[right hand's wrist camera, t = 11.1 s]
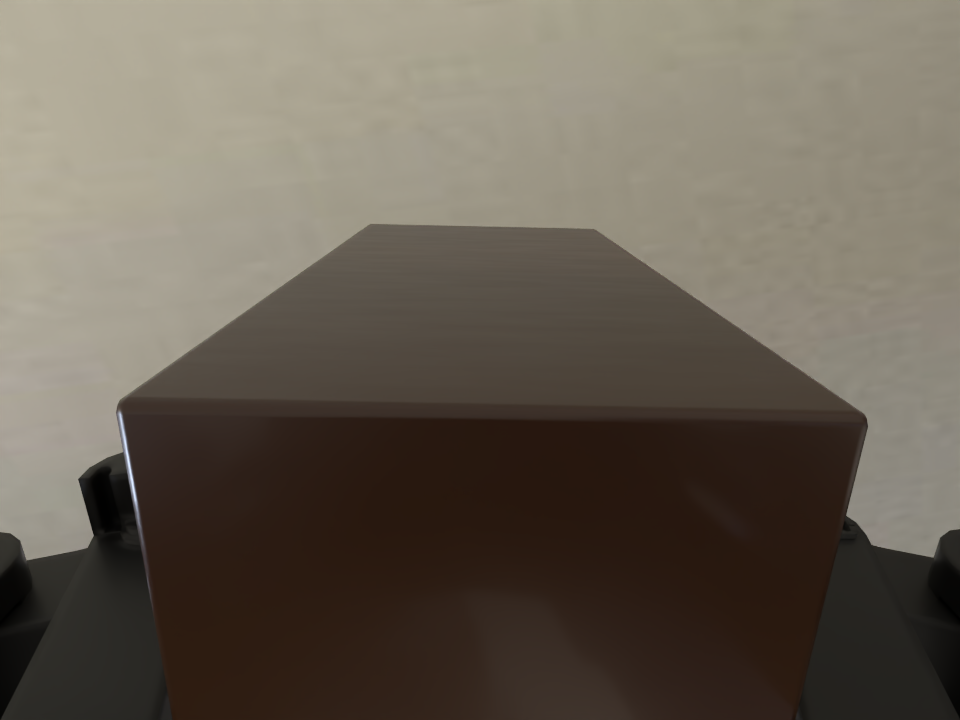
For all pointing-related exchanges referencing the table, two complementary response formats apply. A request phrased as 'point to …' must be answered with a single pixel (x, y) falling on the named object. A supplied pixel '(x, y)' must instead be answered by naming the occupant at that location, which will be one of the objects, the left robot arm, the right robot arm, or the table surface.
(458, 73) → the table surface
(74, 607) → the right robot arm
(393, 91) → the table surface
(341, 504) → the walnut box
